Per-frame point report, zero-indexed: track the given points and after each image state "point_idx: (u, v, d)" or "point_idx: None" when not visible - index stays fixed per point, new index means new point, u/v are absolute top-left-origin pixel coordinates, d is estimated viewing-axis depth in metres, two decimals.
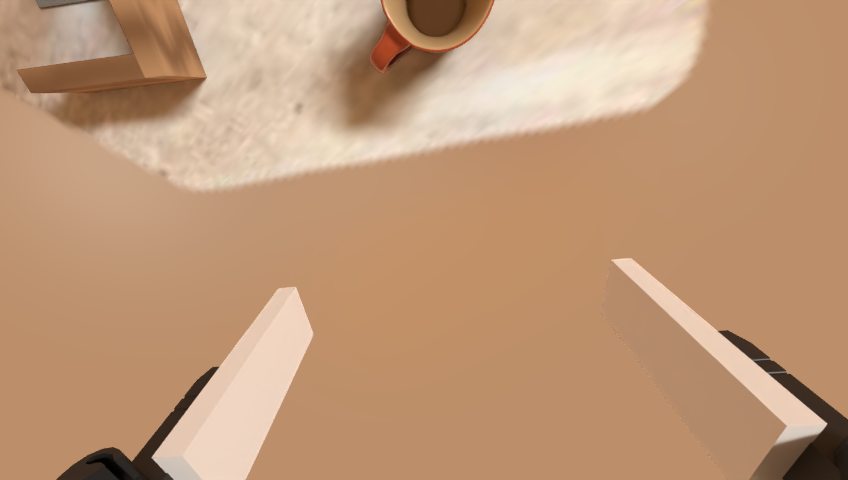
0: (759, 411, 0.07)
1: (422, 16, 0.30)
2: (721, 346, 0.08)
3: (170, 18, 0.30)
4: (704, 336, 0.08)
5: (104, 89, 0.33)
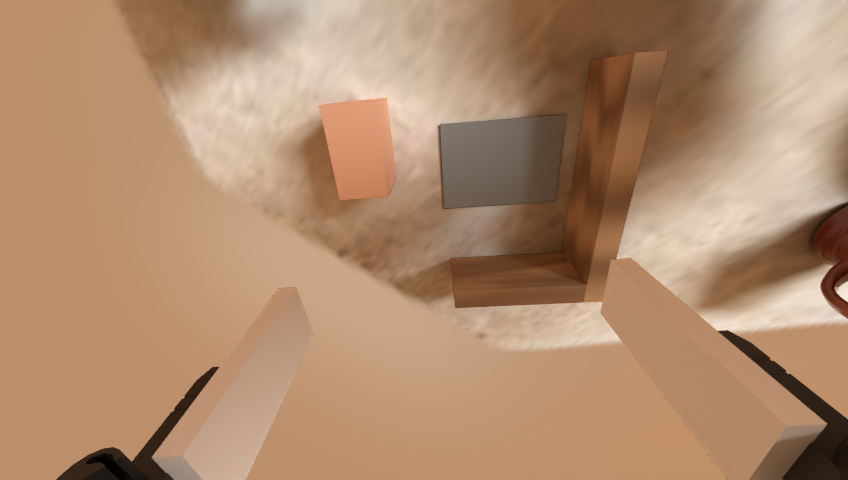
0: (759, 411, 0.07)
1: None
2: (721, 346, 0.08)
3: None
4: (704, 336, 0.08)
5: None
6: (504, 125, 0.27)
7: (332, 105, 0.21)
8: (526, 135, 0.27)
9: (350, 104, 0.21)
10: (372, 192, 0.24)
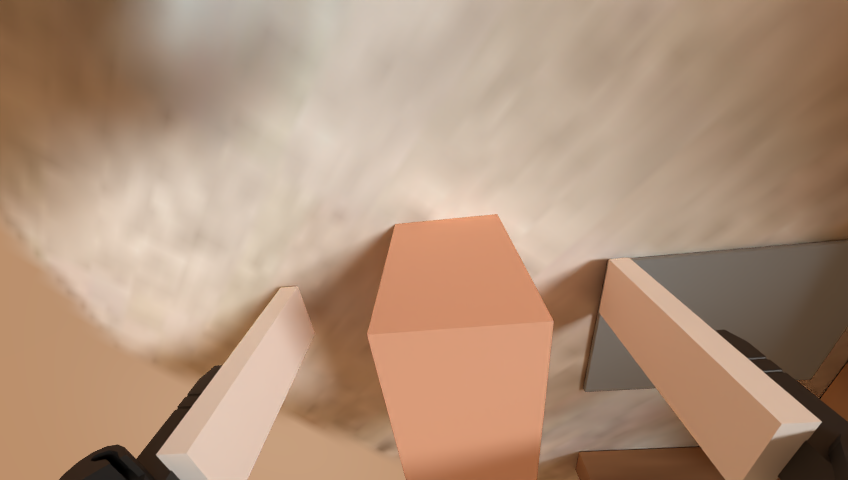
0: (755, 409, 0.07)
1: None
2: (718, 345, 0.08)
3: None
4: (701, 335, 0.08)
5: None
6: (755, 260, 0.12)
7: (410, 333, 0.07)
8: (798, 276, 0.12)
9: (469, 330, 0.06)
10: None
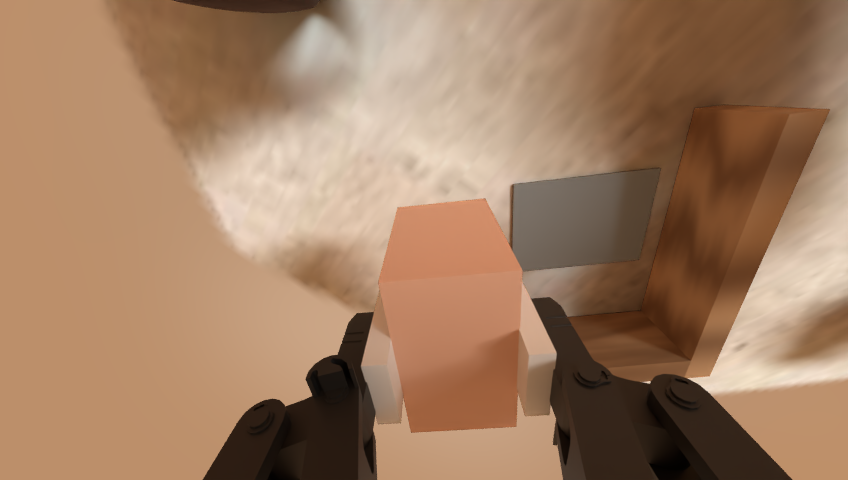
0: (524, 348, 0.09)
1: None
2: (523, 305, 0.10)
3: None
4: None
5: None
6: (588, 182, 0.23)
7: (411, 281, 0.08)
8: (612, 191, 0.23)
9: (457, 278, 0.08)
10: (484, 421, 0.11)
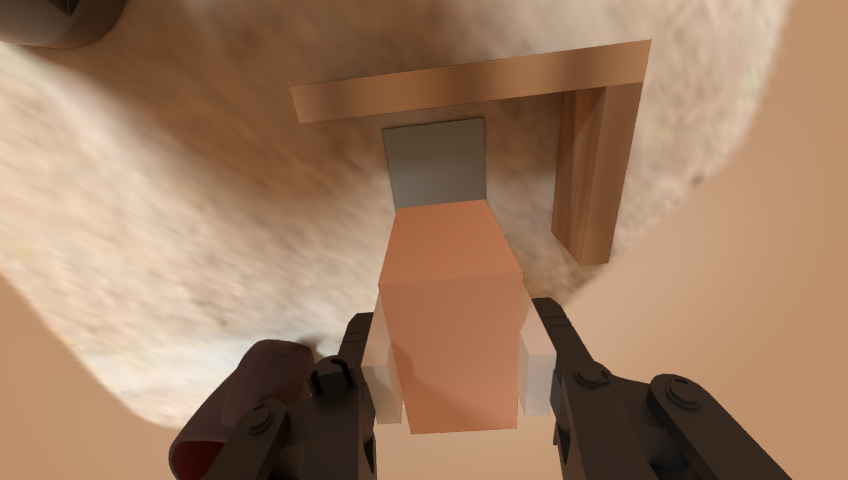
0: (524, 348, 0.09)
1: None
2: (523, 305, 0.10)
3: None
4: None
5: None
6: (398, 193, 0.26)
7: (411, 282, 0.08)
8: (406, 169, 0.25)
9: (458, 280, 0.08)
10: (483, 423, 0.11)
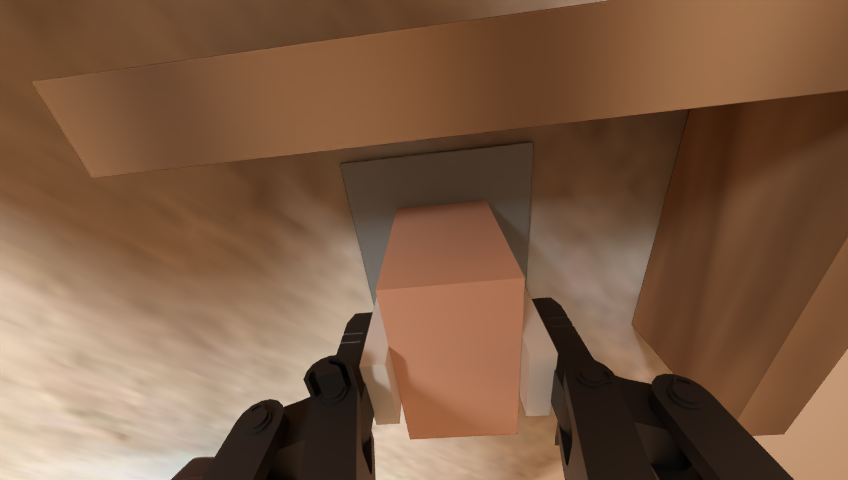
0: (525, 348, 0.09)
1: None
2: (524, 306, 0.10)
3: None
4: None
5: None
6: (374, 269, 0.15)
7: (410, 289, 0.08)
8: (387, 231, 0.14)
9: (457, 286, 0.08)
10: (484, 428, 0.11)
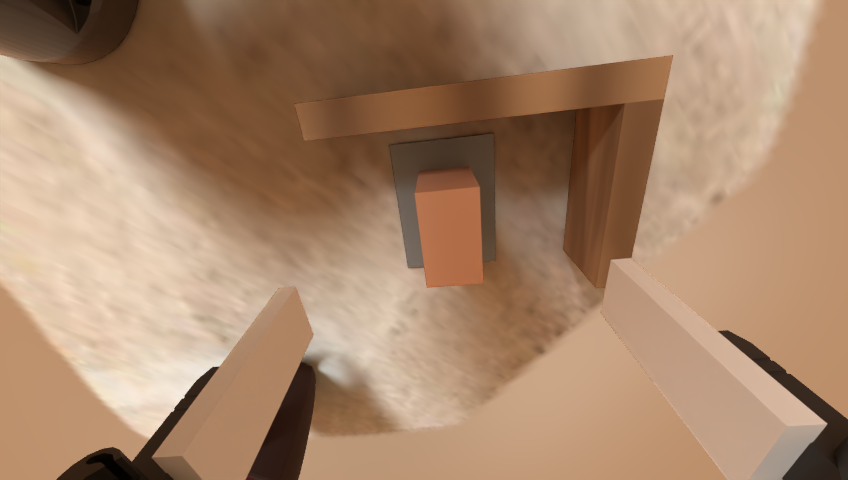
0: (759, 411, 0.07)
1: None
2: (721, 346, 0.08)
3: None
4: (704, 336, 0.08)
5: None
6: (404, 209, 0.25)
7: (429, 192, 0.18)
8: (413, 185, 0.24)
9: (450, 191, 0.18)
10: (465, 279, 0.21)
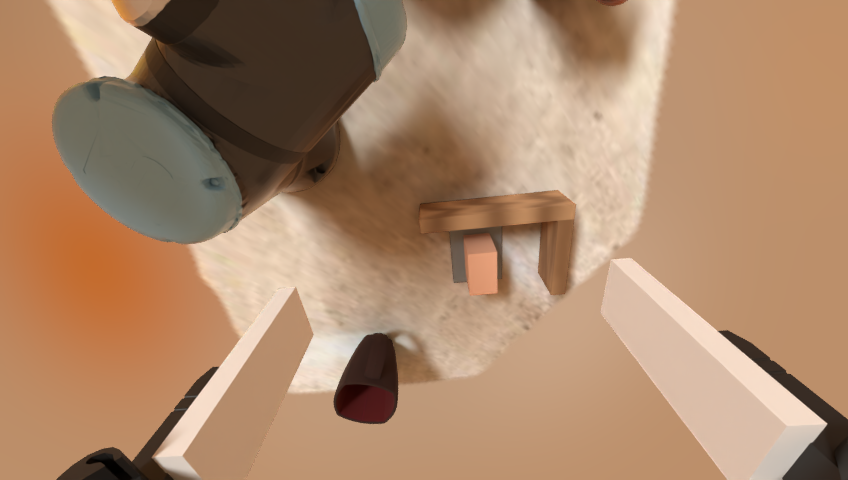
0: (759, 411, 0.07)
1: None
2: (721, 346, 0.08)
3: (525, 198, 0.42)
4: (704, 336, 0.08)
5: None
6: (454, 253, 0.48)
7: (474, 254, 0.41)
8: (459, 241, 0.47)
9: (484, 253, 0.41)
10: (489, 291, 0.44)
